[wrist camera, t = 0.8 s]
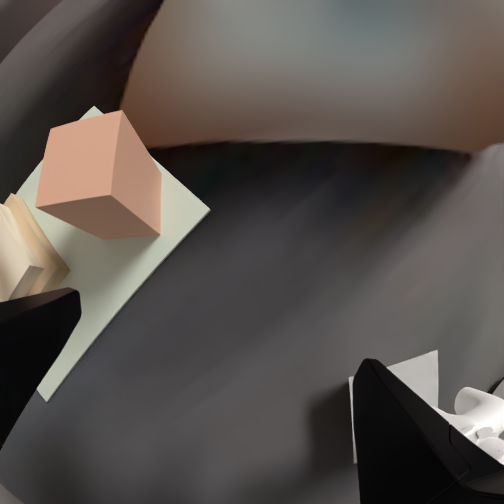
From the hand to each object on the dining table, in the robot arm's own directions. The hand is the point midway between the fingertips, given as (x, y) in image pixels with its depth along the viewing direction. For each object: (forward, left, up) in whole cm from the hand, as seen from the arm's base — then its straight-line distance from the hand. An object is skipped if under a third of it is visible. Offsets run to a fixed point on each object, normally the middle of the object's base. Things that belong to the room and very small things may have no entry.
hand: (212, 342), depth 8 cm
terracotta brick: (+1, +12, -13) cm, 17 cm away
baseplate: (-7, +15, -13) cm, 21 cm away
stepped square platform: (-12, +17, -13) cm, 24 cm away
